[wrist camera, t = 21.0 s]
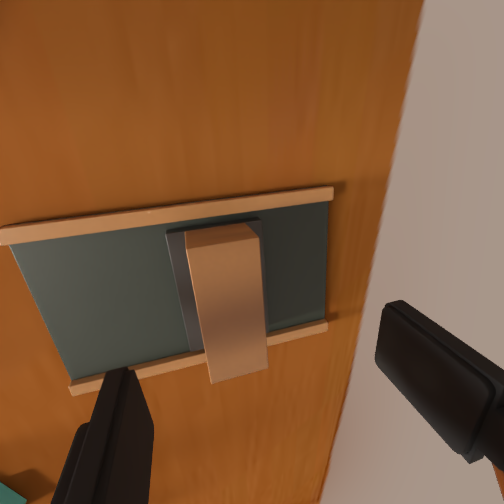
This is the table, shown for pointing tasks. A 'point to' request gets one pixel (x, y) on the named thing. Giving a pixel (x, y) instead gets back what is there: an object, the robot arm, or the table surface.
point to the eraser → (223, 294)
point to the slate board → (162, 279)
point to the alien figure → (10, 496)
